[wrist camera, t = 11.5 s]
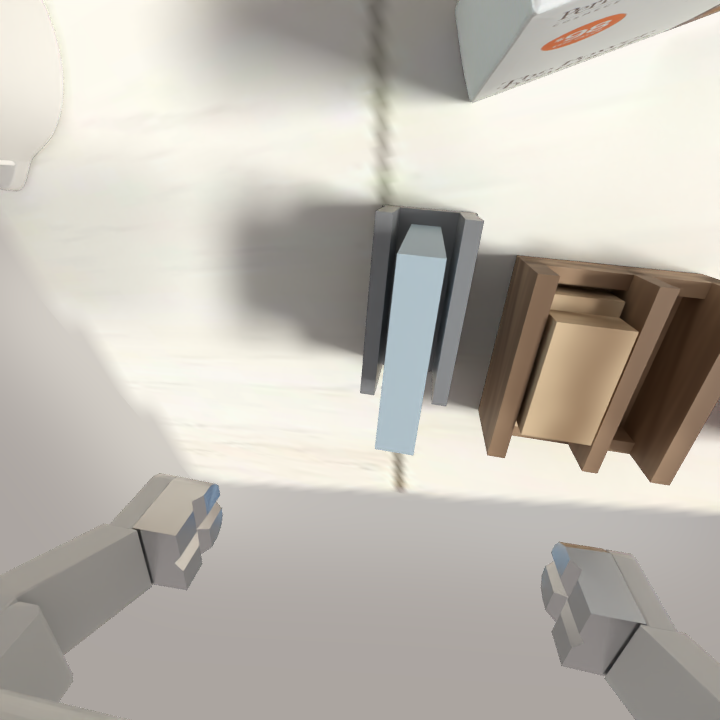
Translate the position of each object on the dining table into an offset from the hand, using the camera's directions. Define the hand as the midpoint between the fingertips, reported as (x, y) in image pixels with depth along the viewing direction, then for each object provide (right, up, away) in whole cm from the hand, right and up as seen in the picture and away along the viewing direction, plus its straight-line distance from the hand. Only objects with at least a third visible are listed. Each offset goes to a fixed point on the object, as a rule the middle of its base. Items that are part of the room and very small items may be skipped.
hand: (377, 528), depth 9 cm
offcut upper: (+13, +3, +16) cm, 21 cm away
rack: (+16, +5, +20) cm, 26 cm away
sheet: (+4, +9, +19) cm, 21 cm away
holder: (+4, +9, +20) cm, 22 cm away
